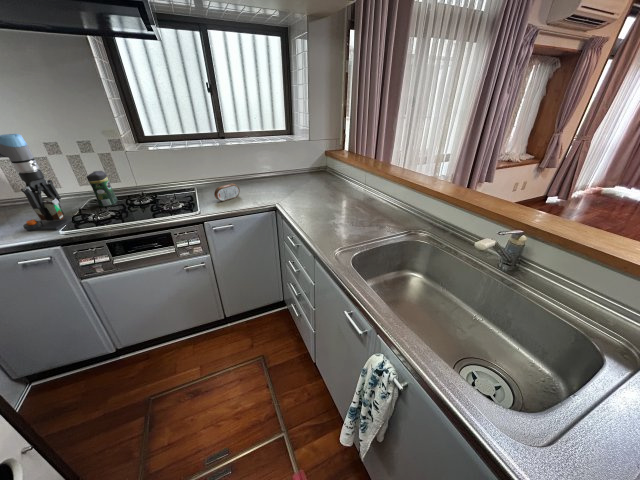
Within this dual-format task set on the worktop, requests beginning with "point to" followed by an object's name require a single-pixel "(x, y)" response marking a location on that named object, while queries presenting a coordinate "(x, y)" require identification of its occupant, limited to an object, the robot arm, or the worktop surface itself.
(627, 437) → the worktop surface
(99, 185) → the coffee jar
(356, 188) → the worktop surface
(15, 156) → the robot arm
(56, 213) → the food container
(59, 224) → the scale
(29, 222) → the tare button
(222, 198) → the tin
